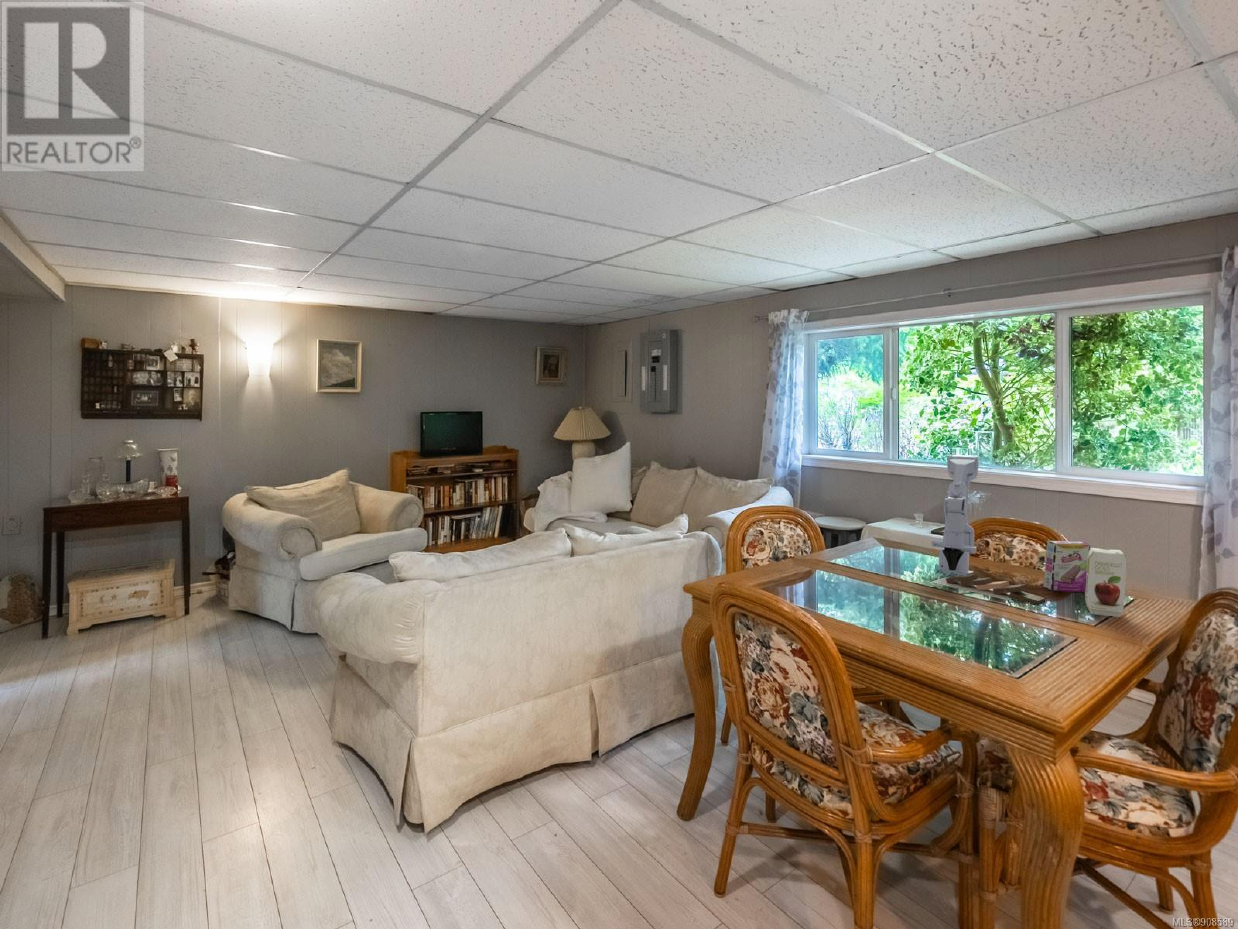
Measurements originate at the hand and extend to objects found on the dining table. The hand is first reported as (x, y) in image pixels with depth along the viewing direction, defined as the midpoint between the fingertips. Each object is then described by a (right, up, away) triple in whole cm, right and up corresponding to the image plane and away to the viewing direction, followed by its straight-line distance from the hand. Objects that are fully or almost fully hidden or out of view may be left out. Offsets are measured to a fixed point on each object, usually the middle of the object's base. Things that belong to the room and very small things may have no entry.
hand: (952, 569), depth 210 cm
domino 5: (+11, -5, -16) cm, 20 cm away
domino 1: (0, -4, +1) cm, 4 cm away
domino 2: (+2, -4, -3) cm, 6 cm away
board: (+4, -5, -6) cm, 9 cm away
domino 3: (+5, -4, -8) cm, 10 cm away
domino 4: (+8, -5, -12) cm, 15 cm away
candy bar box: (+33, -6, -8) cm, 35 cm away
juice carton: (+28, -8, -31) cm, 42 cm away
